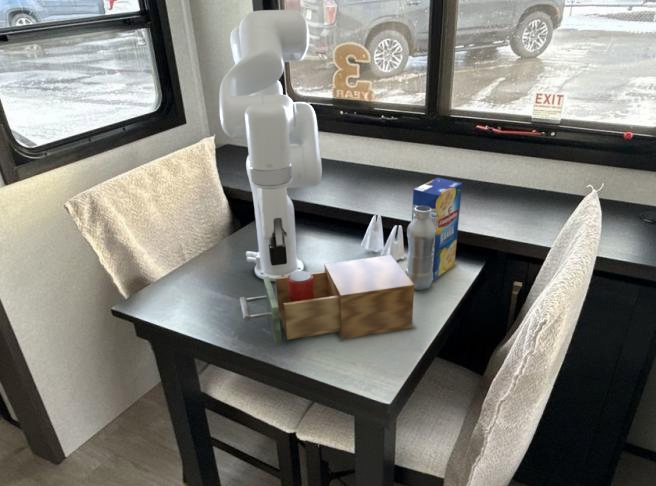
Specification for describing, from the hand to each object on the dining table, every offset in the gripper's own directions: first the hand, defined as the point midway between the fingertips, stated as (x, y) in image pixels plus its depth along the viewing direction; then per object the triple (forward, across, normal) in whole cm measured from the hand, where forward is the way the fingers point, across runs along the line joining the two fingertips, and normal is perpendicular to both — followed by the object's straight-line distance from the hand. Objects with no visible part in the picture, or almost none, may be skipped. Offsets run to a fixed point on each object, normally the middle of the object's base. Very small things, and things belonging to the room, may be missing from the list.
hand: (278, 262), depth 111 cm
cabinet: (+16, 0, +19) cm, 24 cm away
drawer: (+15, 0, +2) cm, 15 cm away
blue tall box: (+16, -18, +41) cm, 47 cm away
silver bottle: (+16, -10, +34) cm, 39 cm away
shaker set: (+16, -29, +31) cm, 45 cm away
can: (+14, 0, +4) cm, 14 cm away
